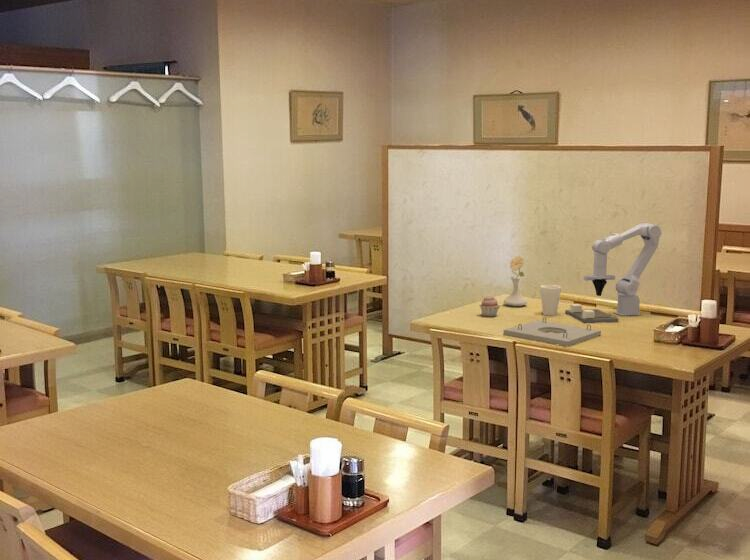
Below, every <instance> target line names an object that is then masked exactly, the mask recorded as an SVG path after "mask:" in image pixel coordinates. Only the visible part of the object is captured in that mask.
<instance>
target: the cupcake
mask: <svg viewBox="0 0 750 560" xmlns="http://www.w3.org/2000/svg"><path fill="white" fill-rule="evenodd" d="M479 307H480V310H481V314H482V316H483V317H487V318H494V317H496V316H497V314H498V311H499V308H500V307H501V306H500V305H499V304H498V300H497V298H495V297H493V295H491V294H488V295H486V296H485V297H484V298H483V299H482V300H481V304H479Z"/></svg>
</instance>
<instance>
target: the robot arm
mask: <svg viewBox="0 0 750 560" xmlns="http://www.w3.org/2000/svg"><path fill="white" fill-rule="evenodd" d="M637 236H640V238H641V239H642V240H643V243H644V245H643V247H642V249H641V251H640V252H639V254H638V256H637V257H636V259H635V260H634V263H633V264H632V266H631V268H629V271H628V272H627V273H626V274H625V275H622V276H621V278H620V279H619V280H618V281H616V283H615V291H617V308H616V310H615V311H613V314H616V315H618V316H620V317H623V316H624V317H625V316H640V315H641V314H640V304H641V303H640V297H639V296H638V295H637V293H638V288H639V285H640V280H639V279H640V277H641V275H642V274H643V272H644V270H645V269H646V268H647V266H648V264H649V262H650V260H651V259H652V257H653V256H654V254H655V252H656V250H657V249H658V247H659V242H660V237H661V236H662V230H661V227H660V226H659V224H655V223H654V224H653V223H647V222H642V223H639V224H637V225H635V226H633V227H632V228H630V229H628V230H626V231H624V232H622V233H617V232H616V233H614V232H612V233H611V234H610V235H609V236H606V237H603V238H602V239H597V240H595V241H594V242H593V245H591V248H592V251H593V274H591V275H584V276H583V280H584V281H586V282H588V281H591V282H592V284H593V286H594V289H595V295H596V296H597V297H601V296H602V293H603V291H604V288H605V286H606V285H607V281H615V280H616V275H614V274H612V275H611V274H607V266H608V265H607V264H608V253H609V252H610V250H612V249H615V248H616V247H619V246H622V244H623V242H624V241H626V240H629V239H632V238H634V237H637Z"/></svg>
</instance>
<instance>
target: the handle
mask: <svg viewBox="0 0 750 560" xmlns="http://www.w3.org/2000/svg"><path fill="white" fill-rule="evenodd" d="M569 306H570V307H569V310H570V311H572V312H582V310H583V306H582V304H580V303H570V305H569Z"/></svg>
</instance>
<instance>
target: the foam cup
mask: <svg viewBox="0 0 750 560" xmlns="http://www.w3.org/2000/svg"><path fill="white" fill-rule="evenodd" d="M561 293H562V286H560V285H554V284H553V285H552V284H545V285H541V286H540V296H541V307H542V314H543V315H544V316H556V315H557V314H558V309H559V303H560V297H561Z"/></svg>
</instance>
